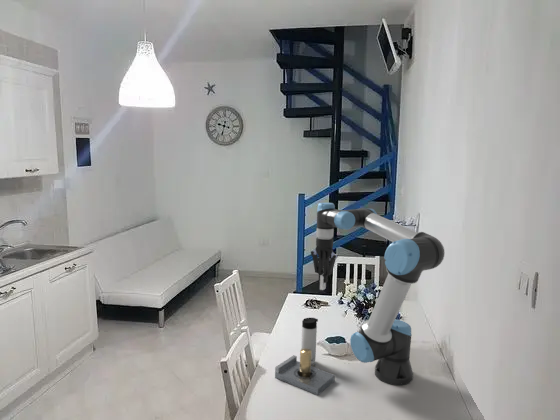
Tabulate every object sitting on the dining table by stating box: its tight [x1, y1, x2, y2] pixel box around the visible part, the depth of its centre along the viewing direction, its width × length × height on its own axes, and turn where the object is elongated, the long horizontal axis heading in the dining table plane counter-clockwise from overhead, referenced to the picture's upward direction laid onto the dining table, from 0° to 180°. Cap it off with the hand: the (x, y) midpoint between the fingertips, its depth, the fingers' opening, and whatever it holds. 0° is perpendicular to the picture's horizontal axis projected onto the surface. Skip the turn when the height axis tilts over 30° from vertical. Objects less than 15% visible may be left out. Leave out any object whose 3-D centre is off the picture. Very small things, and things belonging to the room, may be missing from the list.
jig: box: [274, 354, 336, 396], centre depth 171 cm, size 20×13×4 cm, turn 54°
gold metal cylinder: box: [299, 348, 311, 377], centre depth 171 cm, size 4×4×12 cm
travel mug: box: [300, 317, 319, 367], centre depth 184 cm, size 6×7×20 cm
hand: (322, 288), depth 193 cm, fingers closed
